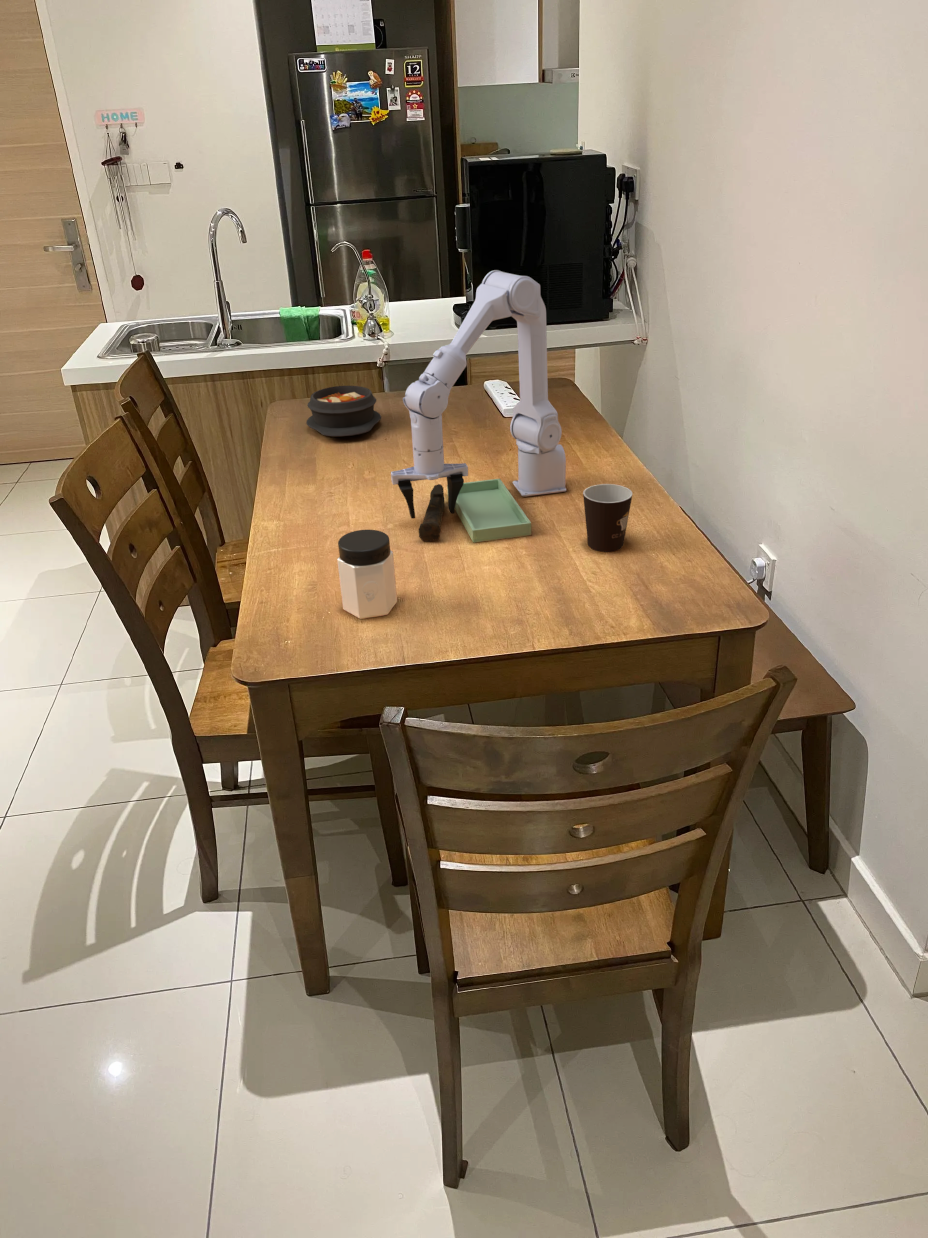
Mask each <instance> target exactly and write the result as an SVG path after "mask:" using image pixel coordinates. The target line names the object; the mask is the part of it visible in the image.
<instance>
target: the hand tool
mask: <svg viewBox="0 0 928 1238" xmlns="http://www.w3.org/2000/svg"><path fill="white" fill-rule="evenodd" d="M444 513H445V491H444V486H443V485H442V484H440V483H438V484H435V485H434V486H433V488H432V489H431V490H430V493H429V502H428V504H427V508H426V511H425V512H424V517H423V520H422V523H420V524H419V528H418V538H419V539H420V540H421V541H422V542H429V543H430V542H435V541H438V540H439V539H440V533H441V526H442V518H443V514H444Z"/></svg>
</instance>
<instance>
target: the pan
mask: <svg viewBox="0 0 928 1238" xmlns="http://www.w3.org/2000/svg"><path fill="white" fill-rule="evenodd" d="M446 489H447V491H446V492H447V494H448V485H447V484H446ZM454 511H455V512H456V514H457V516H458V518H459V520H460V522H461V524H462V525H463V527H464V529H465V531H466V532H467V534H468V536H469V538H470V539H471V541H472V543H481V542H489V541H490V542H491V541H496V540H503V539H504V540H505V539H512V538H520V537H528V536H532V522H531V520H530V519H529V518H528V516H527V515H526V513H525V512H524V510H523V509H522V507H521V506H520V505H519V503H518V502H517V500H516V499H515V498H514V496H513V494H512V493H511V492H510V491H509V489H508V487H507V486H506V485H505V483H504V482H503V481H502V479H501V478H493V479H484V480H483V479H482V480H476V481H475V480H474V481H468V482H464V484H463V486H462V488H461V490H460V492H459V495H458V497H457V500H456V504H455V509H454Z"/></svg>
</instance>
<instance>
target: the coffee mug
mask: <svg viewBox="0 0 928 1238" xmlns="http://www.w3.org/2000/svg"><path fill="white" fill-rule="evenodd" d="M582 495H583V507H584V517H585V518H584V519H585V529H586V539H587V546H588V547H589V548H590V549H591V550H592V551H596V552H601V553H612V552H616V551H619V550H621V549H622V548H624V544H625V538H626V533H627V526H628V521H629V516H630V510H631V504H632V499H633V491H632V490H631V489H630V488H628V487H626V486H624V485H621V484H614V483H600V484H594V485H590V486H588V487H586V488H585V489H584V490H583V491H582Z"/></svg>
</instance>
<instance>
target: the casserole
mask: <svg viewBox="0 0 928 1238" xmlns="http://www.w3.org/2000/svg"><path fill="white" fill-rule="evenodd" d="M309 398H310V399H309V401H308V403H307V408H308V409H309V411H310V412H311V415H310V416H309V417H308V418H307V420H306V425H307V427H308V428H310V429H312V430H314V431H317V433H320V434H321V435H322V436H324V437H332V438H333V437H335V438H336V437H351V436H357V435H358V436H359V435H362V434H365V433H368V432H370V431H371V430H372V429H373V428H374V426H375V425H376V424H378V423H379V422H380V421H381V419H382V415H381V413H380V412H378V411H377V410H375V405H376V403H377V398H376V397H375V396H374V394H373V392H372V390H371V389H370V388H368V387H364V386H360V385H336V386H330V387H324V388H322V389H319V390H316V391H314V392H313V393H312V394H311V395H310V397H309Z"/></svg>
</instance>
